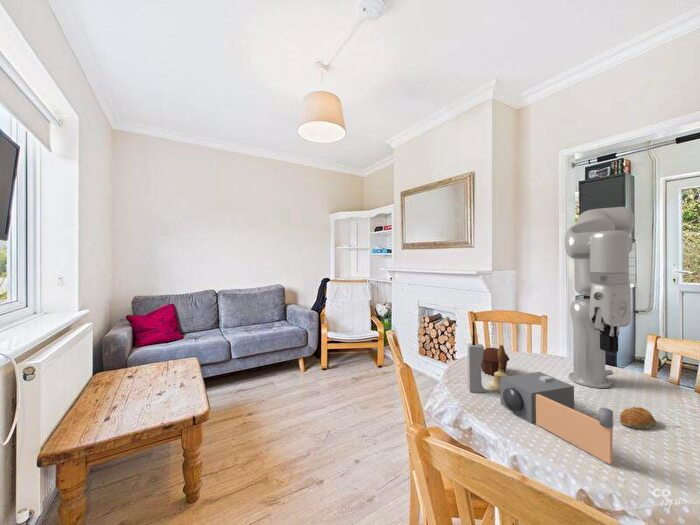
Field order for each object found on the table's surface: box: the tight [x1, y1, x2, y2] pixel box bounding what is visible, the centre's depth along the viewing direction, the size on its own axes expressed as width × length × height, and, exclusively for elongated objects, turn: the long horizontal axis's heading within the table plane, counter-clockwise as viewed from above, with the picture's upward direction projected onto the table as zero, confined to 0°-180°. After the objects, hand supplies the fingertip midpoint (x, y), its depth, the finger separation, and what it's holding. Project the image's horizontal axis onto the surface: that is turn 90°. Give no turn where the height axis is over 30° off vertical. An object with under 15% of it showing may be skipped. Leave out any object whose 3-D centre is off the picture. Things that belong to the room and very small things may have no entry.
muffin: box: [481, 347, 510, 377], centre depth 124 cm, size 12×11×10 cm
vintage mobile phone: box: [466, 321, 485, 394], centre depth 108 cm, size 4×5×25 cm
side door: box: [535, 394, 614, 465], centre depth 77 cm, size 18×2×12 cm, turn 21°
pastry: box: [619, 406, 657, 429], centre depth 85 cm, size 9×7×4 cm
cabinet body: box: [500, 371, 575, 425], centre depth 94 cm, size 18×12×10 cm
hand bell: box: [488, 344, 509, 393], centre depth 109 cm, size 8×8×16 cm
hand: (608, 350), depth 76 cm, fingers closed
